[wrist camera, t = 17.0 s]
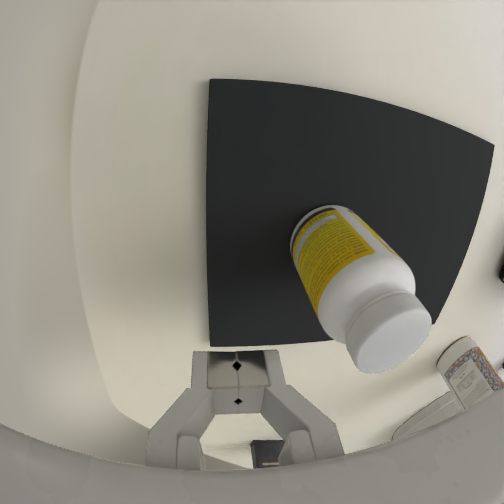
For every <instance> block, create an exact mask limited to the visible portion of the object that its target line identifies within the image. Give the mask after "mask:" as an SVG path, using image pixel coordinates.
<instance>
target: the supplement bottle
mask: <svg viewBox="0 0 504 504" xmlns="http://www.w3.org/2000/svg"><path fill="white" fill-rule="evenodd" d="M290 250H291V256H292V259H293V262H294V265H295V267H296V269H297V271H298V273H299V275H300V278H301V280H302V282H303V285H304V287H305V289H306V292H307V294H308V296H309V298H310V301H311V303H312V305H313V308H314V310H315V312H316V315H317V317H318V319H319V322H320V323H321V325H322V327H323V329H324V331H325V332H326V333H327V334H328V335H329V336H330V337H331V338H332V339H334V340H335V341H337V342H340V343H343V344H346V347H347V350H348V352H349V354H350V355H351V358H352V360H353V362H354V364H355V366H356V367H357V368H358V369H359V370H360V371H362V372H365V373H379V372H383V371H386V370H389V369H392V368H394V367H396V366H398V365H399V364H401V363H403V362H404V361H406V360H407V359H408V358H410V357H411V356H412V355H413V354H414V353H415V352H416V351H417V350H418V349H419V348H420V347H421V346H422V345H423V343H424V342H425V340H426V339H427V337H428V335H429V332H430V330H431V325H432V320H431V316H430V314H429V313H428V311H427V310H426V309H425V307H424V306H423V305H422V303H421V302H420V301H419V300H418V298H417V297H416V296H415V279H414V276H413V273H412V271H411V269H410V268H409V266H408V265H407V264H406V263H405V262H404V261H403V260H402V259H401V258H400V257H399V256H398V254H397V253H396V252H395V251H394V250H392V248H391V247H390V246H389V245H388V244H387V243H386V242H385V241H384V240H383V239H382V238H381V237H380V236H379V235H378V234H376V233H375V232H374V231H373V230H372V229H371V228H370V227H369V226H368V225H367V224H366V223H365V222H364V221H363V220H362V219H361V218H360V217H359V216H357V215H356V214H355V213H354V212H353V211H351V210H349V209H348V208H345V207H343V206H338V205H327V206H322V207H319V208H317V209H314V210H313V211H311V212H309V213H308V214H307V215H305V216H304V217H303V218H302V219H301V220H300V221H299V223H298V224H297V226H296V227H295V229H294V231H293V234H292V237H291V243H290Z"/></svg>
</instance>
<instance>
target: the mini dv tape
mask: <svg viewBox="0 0 504 504" xmlns="http://www.w3.org/2000/svg"><path fill="white" fill-rule="evenodd" d="M284 444H285V441H284V440H278V441H255V440H254V441H253V442H252V443H251V453H252V460H253V468H254V469H257V468H269V467H278V466H279V461H278V457H279V455H280V453H281V451H282V448H283V446H284Z"/></svg>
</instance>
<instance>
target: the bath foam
mask: <svg viewBox="0 0 504 504" xmlns="http://www.w3.org/2000/svg"><path fill="white" fill-rule="evenodd" d="M437 368H438V370H439V372H440V374H441V375H442V377H443V379H444V380H445V382H446V384H447V385H448V387H449V389H450V390H451V392H452V394H453V395H454V397H455V399H456V401H457V402H458V404H459V406H460V408H461V409H462V410H464V409H466V408H468V407H470V406H472V405H474V404H475V403H477V402H479V401H481V400H482V399H484V398H486V397H487V396H489V395H491V394H492V393H494V392H495V391H497V390H499V389H501V388H504V382H503V380H502V379H501V377H500V376H499V374H498V373H497V372H496V370H495V369H494V367H493V366H492V364H491V363H490V362H489V360H488V359H487V358H486V356H485V355H484V353H483V352H482V351H481V349H480V348H479V347H478V346H477V344H476V343H475V342H474V340H473V339H472V338H471V337H464V338H462V339H460V340H458V341H457V342H455V343H454V344H453V345H451V346H450V347H449V348H448V349H447V350H446V351H445V352H444V354H443V355H442V356H441V358H440V359H439V361H438V365H437Z"/></svg>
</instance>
